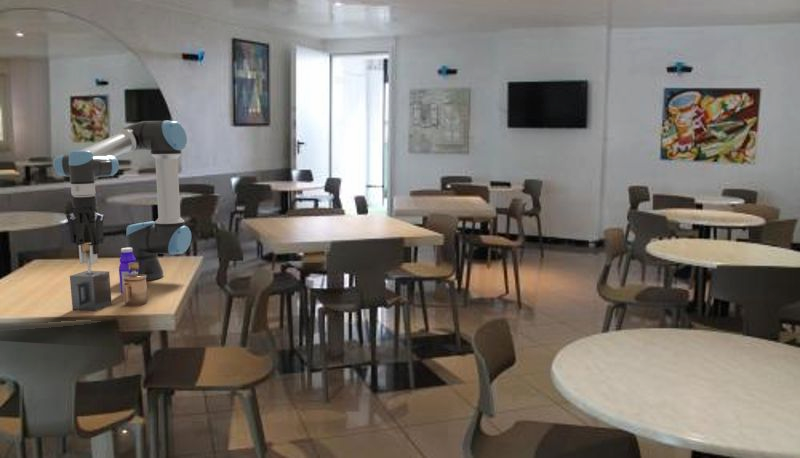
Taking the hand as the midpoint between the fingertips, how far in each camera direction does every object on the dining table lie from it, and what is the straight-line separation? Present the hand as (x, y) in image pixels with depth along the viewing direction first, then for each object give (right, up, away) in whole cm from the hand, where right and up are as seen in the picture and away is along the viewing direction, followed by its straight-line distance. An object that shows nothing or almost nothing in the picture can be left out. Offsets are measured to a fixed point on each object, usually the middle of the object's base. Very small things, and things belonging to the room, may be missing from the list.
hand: (88, 263), depth 245 cm
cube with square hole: (0, -16, +1) cm, 16 cm away
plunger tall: (0, -12, +2) cm, 12 cm away
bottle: (+6, -13, +22) cm, 26 cm away
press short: (+13, -15, +6) cm, 21 cm away
